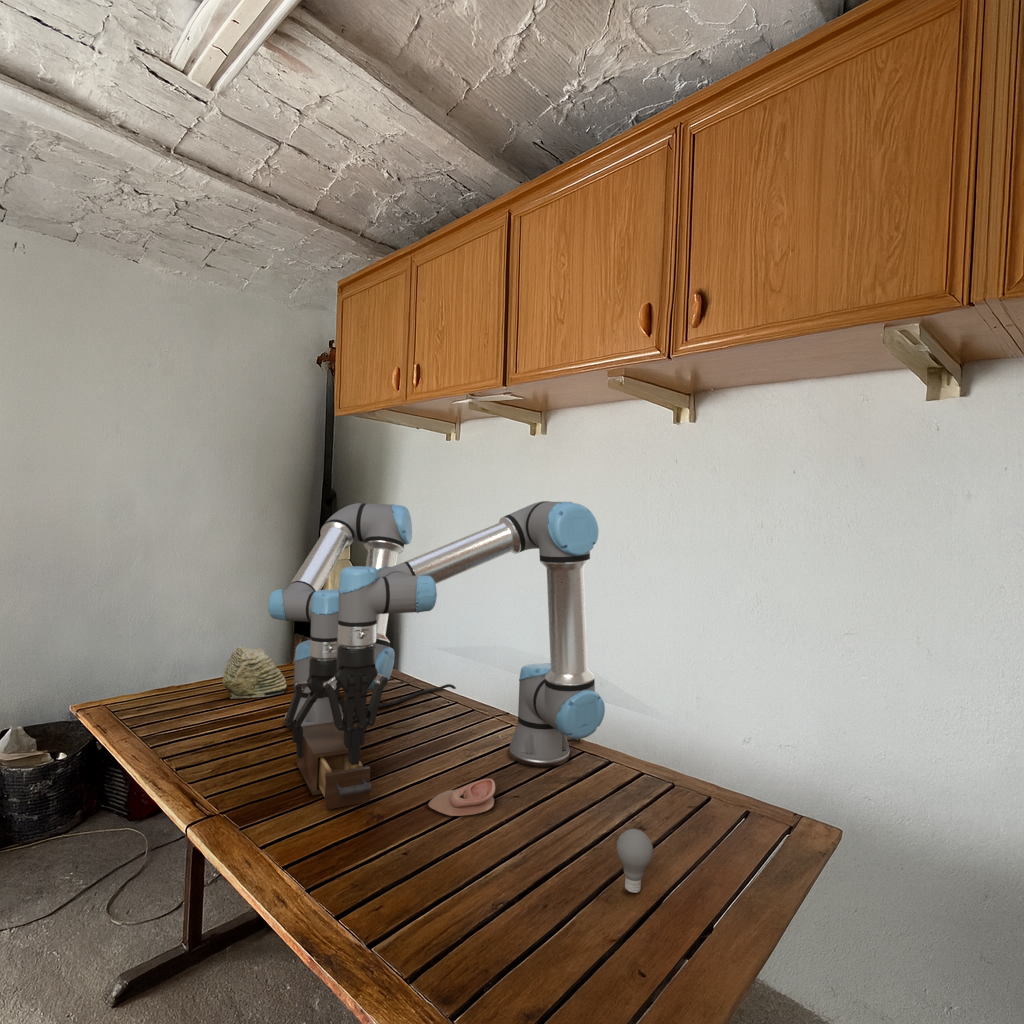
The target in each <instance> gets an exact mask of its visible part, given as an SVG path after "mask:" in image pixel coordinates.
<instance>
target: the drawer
mask: <svg viewBox="0 0 1024 1024" xmlns="http://www.w3.org/2000/svg"><path fill="white" fill-rule="evenodd" d="M317 784H318V786H319V788H320V790H321V792H322V793H323V794H322V795H323V797H324V809H325V810H326V811H328V810H333V809H338V808H341V807H348V806H352V805H358V804H364V803H367V802H368V803H369V802H370V793H371V792H372V783H371V767H370V766H369V765H367V766H364V765H363V763H362V762H361V760H360V761H359V764H356V765H351V764H350V762H349V761H348V753H344V754H338V755H332V756H325V757H319V758H318V774H317Z"/></svg>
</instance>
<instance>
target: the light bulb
mask: <svg viewBox="0 0 1024 1024" xmlns="http://www.w3.org/2000/svg"><path fill="white" fill-rule="evenodd" d="M615 849H616V854H617V857H618V859H619V861H620V863H621V865H622V867H623V873H624V874H623V875H624V876H625V878H624V888H625V890H627V891H628V892H630V893H634V894H635V893H639V892H640V891H641V889H642V887H641V886H642V879H643V877H644V875H645V871H646V868H647V867H648V866H649V864H650V863H651V861H652V859H653V855H654V847H653V843H652V841H651V838H649V836H648V835H647V834H646V833H645V832H643V831H642V830H641V829H636V828H629V829H627V830H625V831H623V832H622V833H621V834H620V835H619V837H618V839H617V841H616V847H615Z"/></svg>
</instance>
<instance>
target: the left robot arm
mask: <svg viewBox="0 0 1024 1024" xmlns="http://www.w3.org/2000/svg"><path fill="white" fill-rule="evenodd" d="M412 522H413V521H412V516H411V512H410V510H409V509H408V508H407V507H406V506H405V505H400V504H394V503H392V504H386V503H385V504H384V503H364V502H359V503H358V502H357V503H352V504H349V505H347V506H345V507H343V508H341V509H339V510H337V511H336V512H334V513H333V514H332V515H331V516H330V517H329V518H328V519H326V521H325V522H324V524H323V525H322V526H321V528H320V534H319V535H320V536H319V538H318V539H317V541H316V543H315V544H314V546H313V548H312V549H311V551H310V552H309V553H308V555H307V557H306V558H305V560H304V561H303V563H302V564H301V566H300V567H299V569H298V571H297V573H296V574H295V576H294V577H293V579H292V580H291V582H290V583H289V585H288V586H287V588H286V589H284V588H281V589H275V590H273V591H272V592H271V593H270V595H269V598H268V602H267V610H268V615H269V616H270V617H271V618H272V619H273V620H279V621H286V622H291V621H292V622H309V623H310V639H307V640H304V641H302V642H299V643H298V644H297V645H296V647H295V654H294V659H293V661H294V670H293V671H294V672H293V694H292V697H291V699H290V703H289V706H288V709H287V712H286V713H285V716H284V722H283V723H284V725H285V726H286V728H287V729H289V730H291V732H292V733H291V734H292V735H291V736H292V737H291V739H292V742H293V743H296V749H295V752H296V753H295V754H296V757H297V756H298V758H301V757H302V742H303V728H302V727H301V726H307V725H315V724H322V723H330V722H334V720H333V715H332V711H331V706H330V702H329V698H328V693H327V691H326V690H325V688H324V687H323V685H322V683H323V682H324V681H329V680H330V679H331V678H333V677H334V673H335V671H336V668H337V648H338V646H339V645H340V644H338V643H337V639H338V607H339V592H338V589H322V588H323V587H324V585H325V583H326V581H327V580H328V578H329V576H330V575H331V573H332V571H333V569H334V568H335V566H336V564H337V563H338V561H339V559H340V557H341V555H342V554H343V553H344V550H345V549H348V548H349V547H350V546H351V545H352V543H357V542H360V543H361V542H362V543H363V547H364V548H365V549H366V551H367V556H366V561H365V566H367V567H375V568H377V569H379V568H382V567H393V566H395V565H397V561H398V556H400V554H402V553H403V552H404V548H405V545H406V546H407V545H410V544H411V542H412V539H413V523H412ZM389 614H390V613H387V614H377V626H376V642H375V643H374V645H375V646H376V664H375V666H376V668H377V670H378V673H379V674H381V675H384V676H385V677H387V678H388V682H389V681H390V678H391V677H392V676H391V675H392V673H393V670H394V666H395V657H396V655H395V650H394V648H392V647H391V646H390V645H391V641H390V640H389V639H388V637H387V628H388V620H389ZM374 680H375V679H374ZM374 680H373V682H372V683H371V685H370V686H369V687H368V689H367V691H373V687H374V685H375V683H374ZM336 686H337V688H336V690H334V691H335V692H336V695H337V699H338V703H339V708H340V712H341V717H342V721H343V722H344V698H343V695H342V694H341V692H340V689H343V688H342V687H341V686H340V684H339V683H338V682H337V683H336ZM447 688H451V689H452V690H456V689H457V687H456V686H455V685H454V684H450V683H447V684H444V685H441V686H438V687H433V688H428V689H424V690H420V691H417V692H414V693H411V694H408V695H407V696H404V697H401V698H399V699H396V700H393V701H390V702H385V703H382V704H379V707H378V709H382V708H386V707H390V706H393V705H397V704H400V703H402V702H405V701H406V700H410V699H412V698H414V697H417V696H419V695H423V694H427V693H432V692H436V691H442V690H444V689H447ZM368 707H369V705H366V711H367V710H368ZM356 720H357V692H355V695H354V704H353V727H355V723H356Z"/></svg>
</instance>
